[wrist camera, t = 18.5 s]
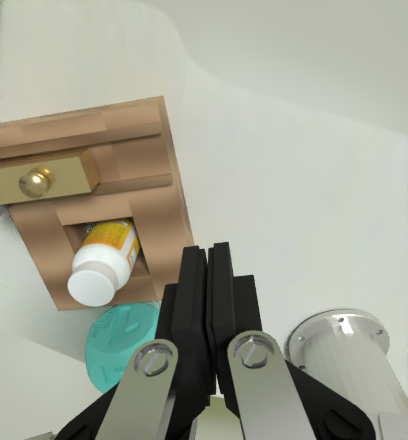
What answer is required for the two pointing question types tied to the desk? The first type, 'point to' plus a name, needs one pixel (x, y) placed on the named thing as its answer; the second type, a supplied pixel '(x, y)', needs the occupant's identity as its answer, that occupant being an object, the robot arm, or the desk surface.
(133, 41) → the desk surface
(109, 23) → the desk surface
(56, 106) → the desk surface
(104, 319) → the decorative dice
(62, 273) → the socket block
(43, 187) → the latch bar
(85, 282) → the supplement bottle
